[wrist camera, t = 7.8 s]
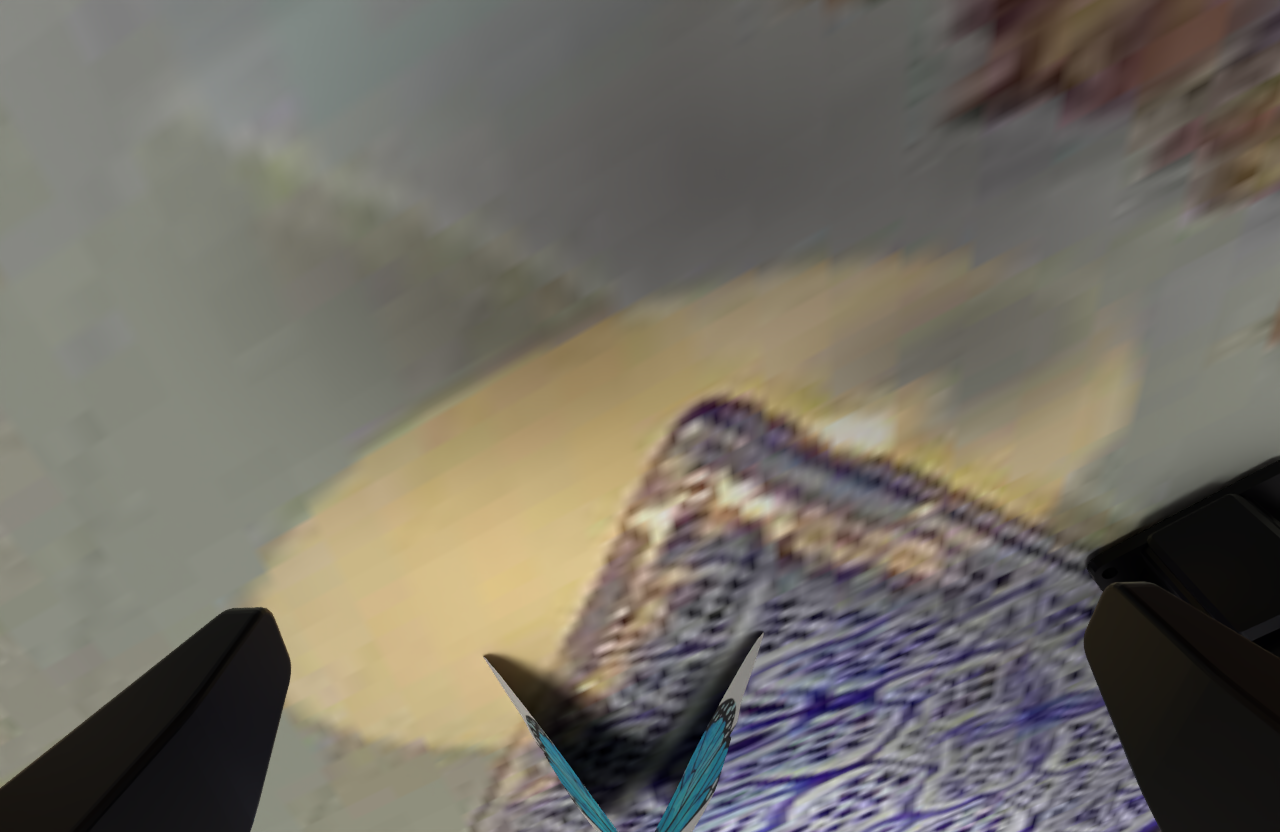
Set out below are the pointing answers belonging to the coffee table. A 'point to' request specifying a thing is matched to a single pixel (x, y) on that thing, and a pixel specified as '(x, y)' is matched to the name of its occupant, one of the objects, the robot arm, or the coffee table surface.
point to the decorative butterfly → (696, 777)
